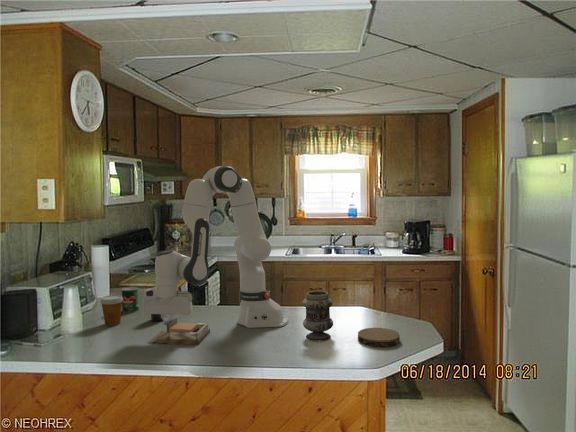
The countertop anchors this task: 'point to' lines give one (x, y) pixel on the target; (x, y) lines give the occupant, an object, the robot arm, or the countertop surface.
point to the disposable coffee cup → (112, 309)
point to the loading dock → (182, 336)
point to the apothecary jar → (317, 315)
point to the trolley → (181, 327)
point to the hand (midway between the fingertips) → (167, 324)
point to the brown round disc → (378, 337)
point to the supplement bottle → (156, 317)
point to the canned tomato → (130, 299)
